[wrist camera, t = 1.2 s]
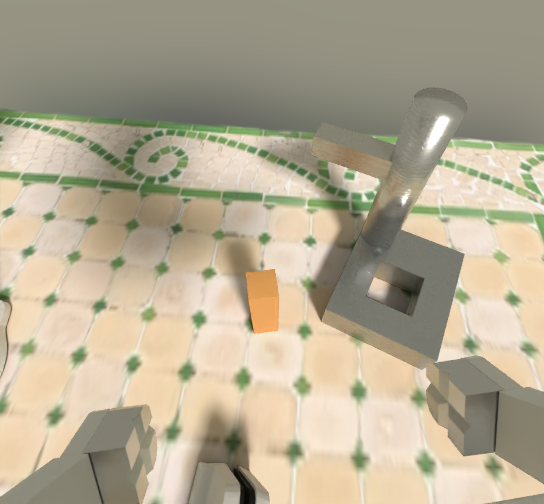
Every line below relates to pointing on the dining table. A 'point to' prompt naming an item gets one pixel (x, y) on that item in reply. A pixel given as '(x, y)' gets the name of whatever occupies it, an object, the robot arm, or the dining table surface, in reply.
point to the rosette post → (397, 233)
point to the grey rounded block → (226, 486)
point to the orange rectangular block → (263, 300)
